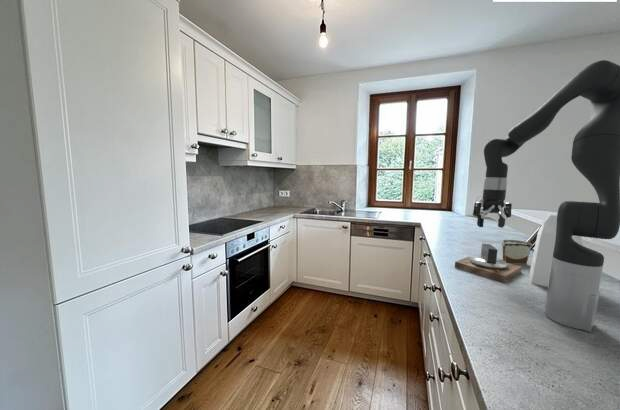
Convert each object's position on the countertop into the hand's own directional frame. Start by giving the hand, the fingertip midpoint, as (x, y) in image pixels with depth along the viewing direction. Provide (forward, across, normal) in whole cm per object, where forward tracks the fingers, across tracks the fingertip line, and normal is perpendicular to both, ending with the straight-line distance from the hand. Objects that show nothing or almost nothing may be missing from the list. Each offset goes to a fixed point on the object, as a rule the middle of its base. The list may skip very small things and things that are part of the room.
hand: (490, 227), depth 102 cm
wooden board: (+19, -1, 0) cm, 19 cm away
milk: (+19, -16, +12) cm, 28 cm away
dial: (+16, -1, 0) cm, 16 cm away
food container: (+19, -20, -11) cm, 29 cm away
